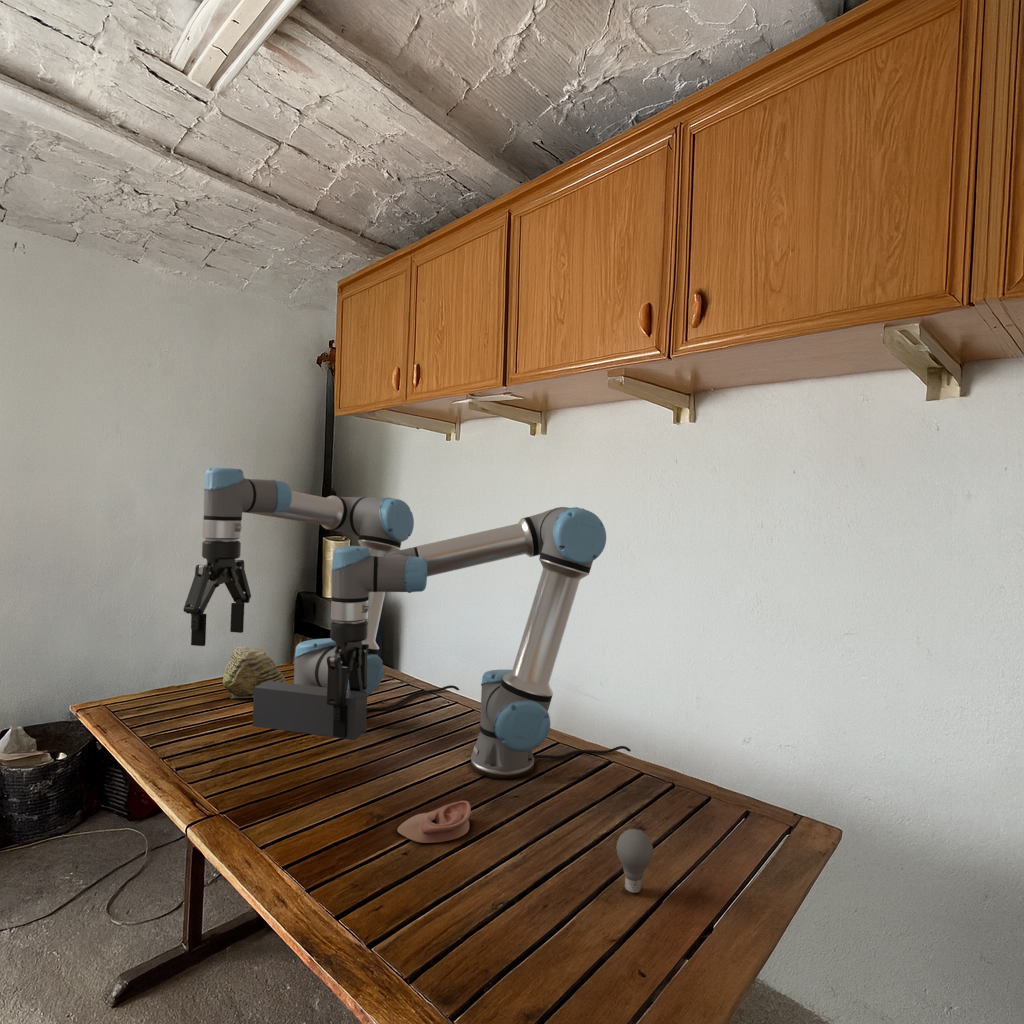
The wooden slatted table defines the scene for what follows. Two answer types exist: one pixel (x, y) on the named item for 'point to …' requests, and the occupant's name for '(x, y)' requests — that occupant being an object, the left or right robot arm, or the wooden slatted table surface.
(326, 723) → the bar
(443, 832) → the anatomical model
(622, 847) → the light bulb
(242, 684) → the fossil
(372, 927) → the wooden slatted table surface
